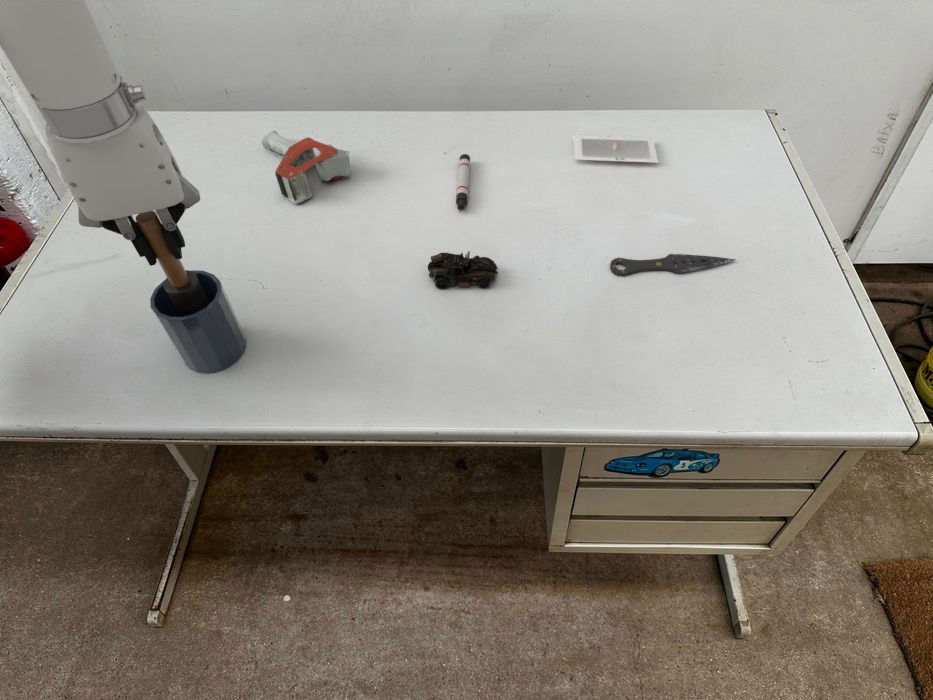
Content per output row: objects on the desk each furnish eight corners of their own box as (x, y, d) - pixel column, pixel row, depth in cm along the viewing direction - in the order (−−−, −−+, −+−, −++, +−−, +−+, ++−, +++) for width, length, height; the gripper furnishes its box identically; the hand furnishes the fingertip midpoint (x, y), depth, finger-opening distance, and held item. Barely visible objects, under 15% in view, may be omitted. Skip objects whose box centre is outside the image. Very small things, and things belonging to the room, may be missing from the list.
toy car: (430, 261, 96) (429, 239, 92) (506, 264, 95) (507, 243, 92) (425, 289, 92) (424, 267, 89) (505, 293, 91) (506, 272, 88)
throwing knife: (607, 259, 96) (607, 256, 95) (731, 251, 97) (732, 248, 96) (613, 278, 93) (614, 275, 92) (741, 270, 94) (742, 267, 93)
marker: (459, 163, 112) (459, 153, 111) (470, 163, 112) (470, 153, 111) (455, 216, 103) (454, 206, 101) (466, 216, 103) (466, 207, 101)
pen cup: (185, 381, 82) (151, 327, 73) (180, 335, 87) (148, 280, 78) (250, 363, 83) (224, 308, 75) (242, 319, 88) (217, 263, 80)
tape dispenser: (270, 148, 118) (248, 208, 105) (261, 123, 114) (238, 181, 101) (360, 142, 118) (350, 201, 104) (354, 116, 114) (343, 173, 100)
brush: (179, 323, 77) (127, 231, 65) (177, 302, 79) (126, 209, 68) (212, 315, 78) (165, 223, 66) (209, 294, 80) (163, 201, 68)
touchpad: (572, 140, 117) (574, 130, 115) (651, 143, 116) (654, 133, 114) (573, 164, 112) (575, 154, 110) (656, 167, 111) (659, 157, 109)
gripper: (174, 73, 61) (231, 219, 75) (-2, 104, 57) (93, 250, 72) (179, 111, 56) (239, 258, 71) (-11, 146, 53) (92, 293, 67)
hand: (165, 253), depth 71 cm, fingers closed on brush, 2 cm apart
